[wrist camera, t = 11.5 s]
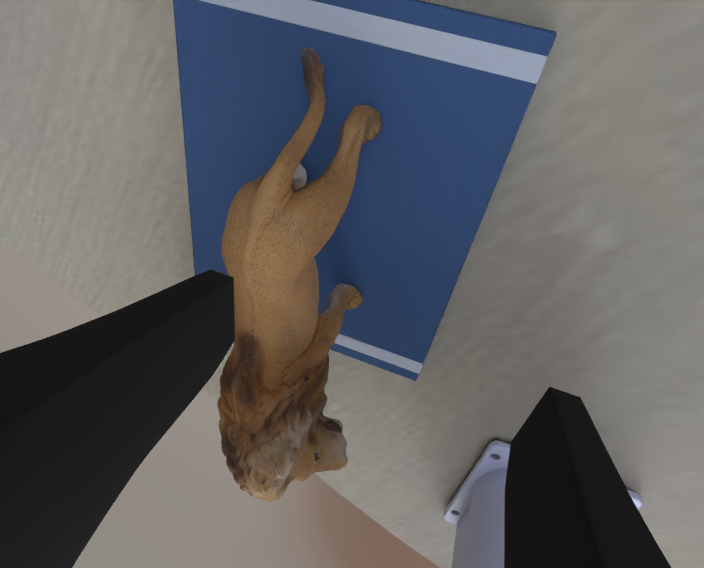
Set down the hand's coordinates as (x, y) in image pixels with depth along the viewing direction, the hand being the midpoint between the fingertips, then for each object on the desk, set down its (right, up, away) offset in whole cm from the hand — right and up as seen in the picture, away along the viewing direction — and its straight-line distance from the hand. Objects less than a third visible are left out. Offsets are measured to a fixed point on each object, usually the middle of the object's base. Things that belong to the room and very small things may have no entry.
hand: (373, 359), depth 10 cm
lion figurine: (-1, +4, +10) cm, 10 cm away
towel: (-2, +5, +9) cm, 11 cm away
